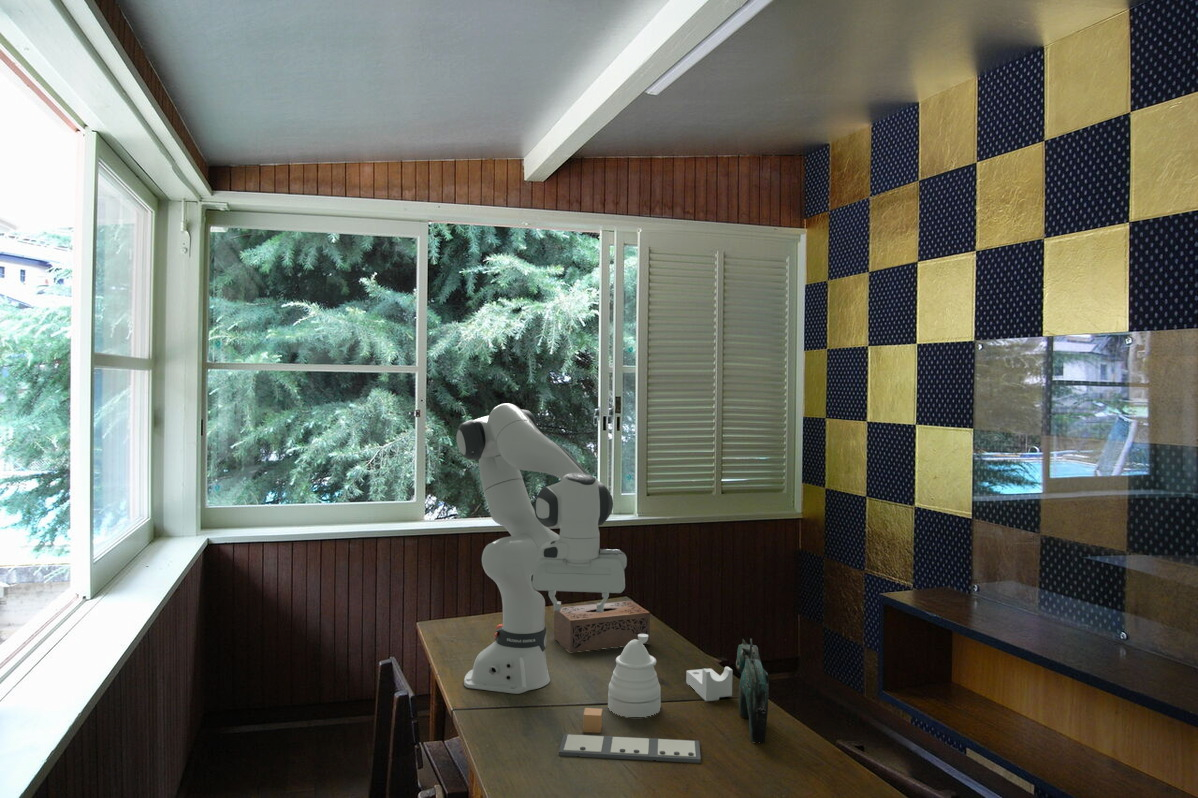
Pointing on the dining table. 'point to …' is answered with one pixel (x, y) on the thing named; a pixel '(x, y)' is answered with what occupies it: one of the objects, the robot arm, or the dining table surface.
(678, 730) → the dining table surface
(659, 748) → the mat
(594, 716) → the block
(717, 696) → the bracket
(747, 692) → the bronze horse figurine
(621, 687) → the honey pot
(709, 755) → the dining table surface
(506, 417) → the robot arm
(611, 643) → the tissue box cover
